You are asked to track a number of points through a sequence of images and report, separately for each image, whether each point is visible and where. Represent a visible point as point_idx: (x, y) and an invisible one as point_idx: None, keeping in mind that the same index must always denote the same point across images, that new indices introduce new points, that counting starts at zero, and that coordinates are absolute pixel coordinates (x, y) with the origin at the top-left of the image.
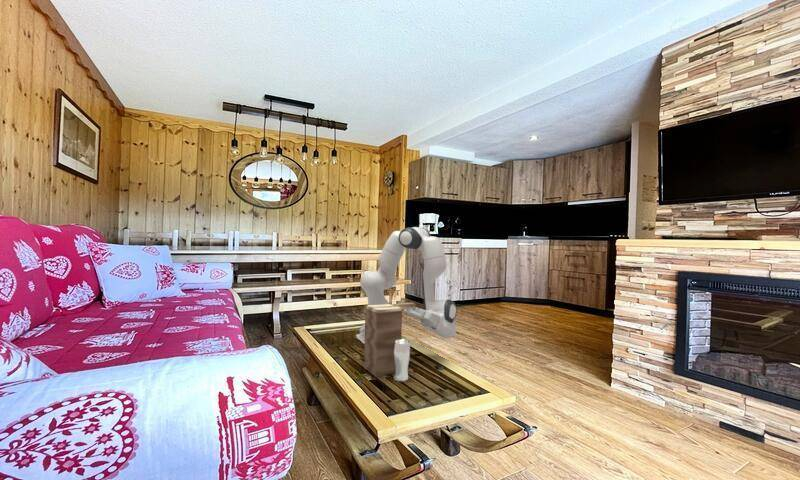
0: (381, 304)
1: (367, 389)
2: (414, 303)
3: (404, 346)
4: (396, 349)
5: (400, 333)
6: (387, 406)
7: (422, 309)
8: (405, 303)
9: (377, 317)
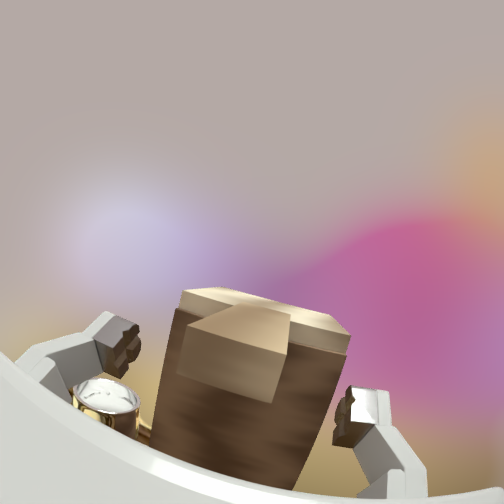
0: (332, 323)
1: (142, 432)
2: (197, 327)
3: (85, 386)
4: (112, 398)
5: (153, 428)
6: (72, 393)
7: (66, 403)
8: (265, 325)
9: None
